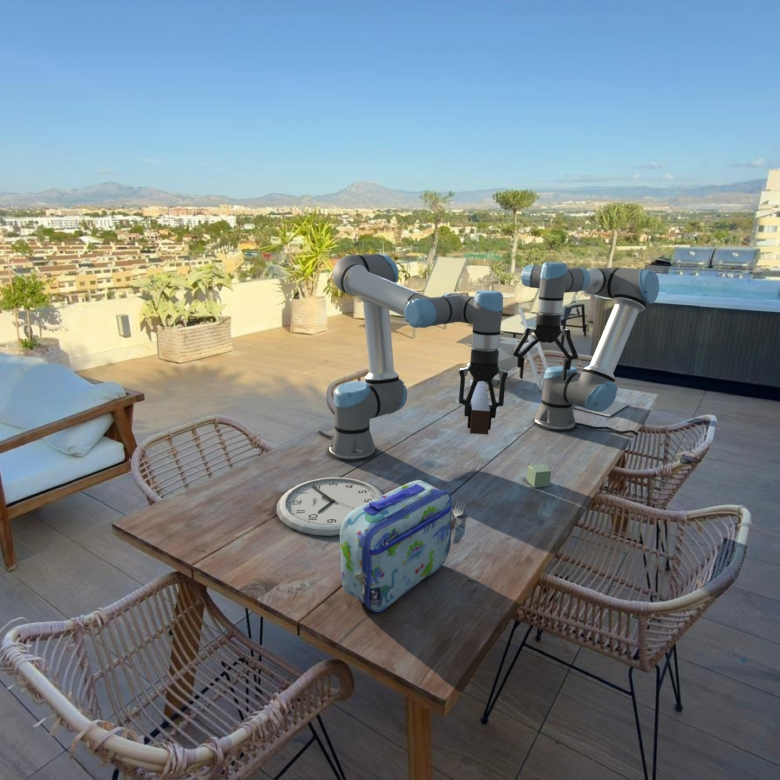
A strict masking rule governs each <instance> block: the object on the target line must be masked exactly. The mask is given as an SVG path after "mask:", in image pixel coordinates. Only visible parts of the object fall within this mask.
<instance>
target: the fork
mask: <svg viewBox="0 0 780 780" xmlns="http://www.w3.org/2000/svg"><path fill="white" fill-rule="evenodd" d="M458 501H459V500H457V501H456V504H455V507H454V509H453V514H452V515H454V517H453V519H451V531H452V530H453V529H454V527H455V525H456V520H457V517H461V516H463V514H464V511H465V505H466V502H463V501H459V502H458ZM460 504H461V505H460Z"/></svg>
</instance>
